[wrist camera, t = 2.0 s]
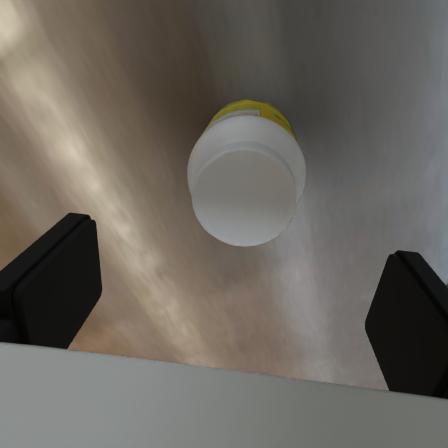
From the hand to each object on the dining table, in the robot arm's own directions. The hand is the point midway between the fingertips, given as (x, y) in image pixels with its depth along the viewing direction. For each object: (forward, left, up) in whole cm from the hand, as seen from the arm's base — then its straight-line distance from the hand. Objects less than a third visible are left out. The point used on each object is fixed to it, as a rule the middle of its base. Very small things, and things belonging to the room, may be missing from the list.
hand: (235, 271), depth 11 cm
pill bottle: (0, 0, -16) cm, 16 cm away
